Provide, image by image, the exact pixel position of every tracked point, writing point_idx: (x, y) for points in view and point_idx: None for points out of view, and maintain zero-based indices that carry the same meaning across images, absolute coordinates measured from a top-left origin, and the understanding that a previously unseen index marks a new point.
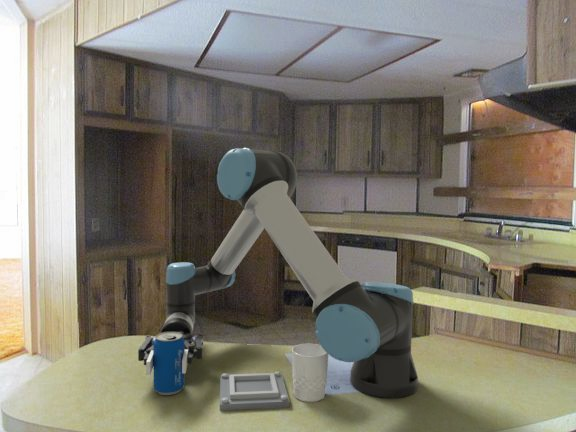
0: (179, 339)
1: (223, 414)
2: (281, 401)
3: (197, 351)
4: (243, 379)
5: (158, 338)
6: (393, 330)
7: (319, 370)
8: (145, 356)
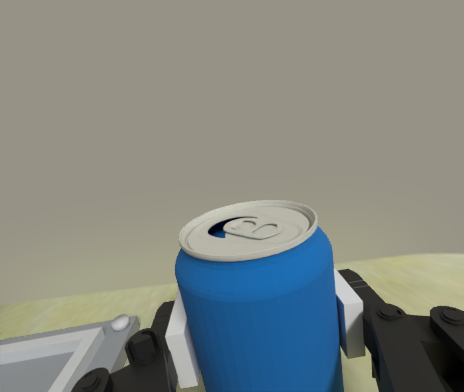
0: (195, 227)
1: (138, 315)
2: (3, 340)
3: (115, 372)
4: None
5: (291, 212)
6: None
7: None
8: (361, 283)
